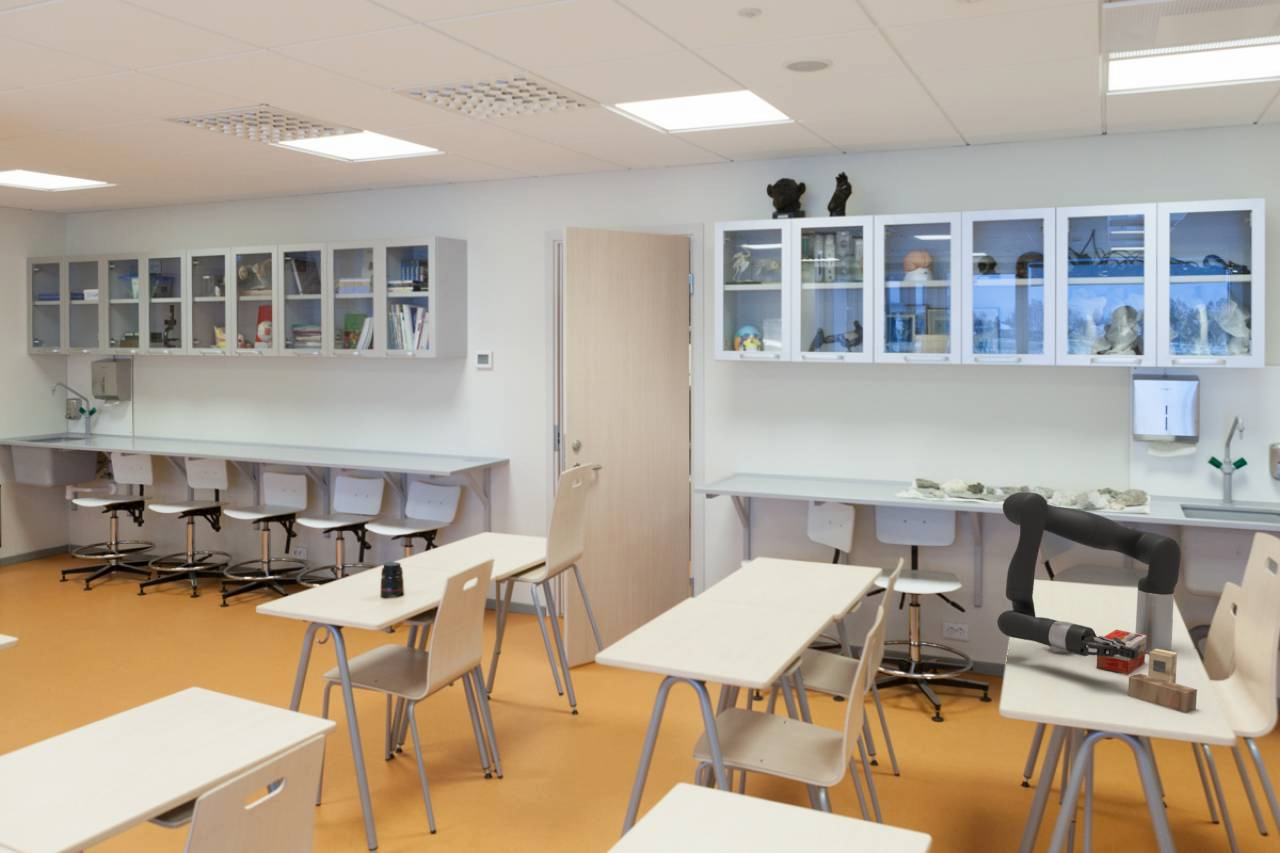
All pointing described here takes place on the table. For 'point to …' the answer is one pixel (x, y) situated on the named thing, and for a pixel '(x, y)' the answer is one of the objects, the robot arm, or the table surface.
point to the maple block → (1163, 665)
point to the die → (1058, 650)
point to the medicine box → (1120, 662)
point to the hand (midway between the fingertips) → (1136, 654)
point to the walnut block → (1162, 692)
